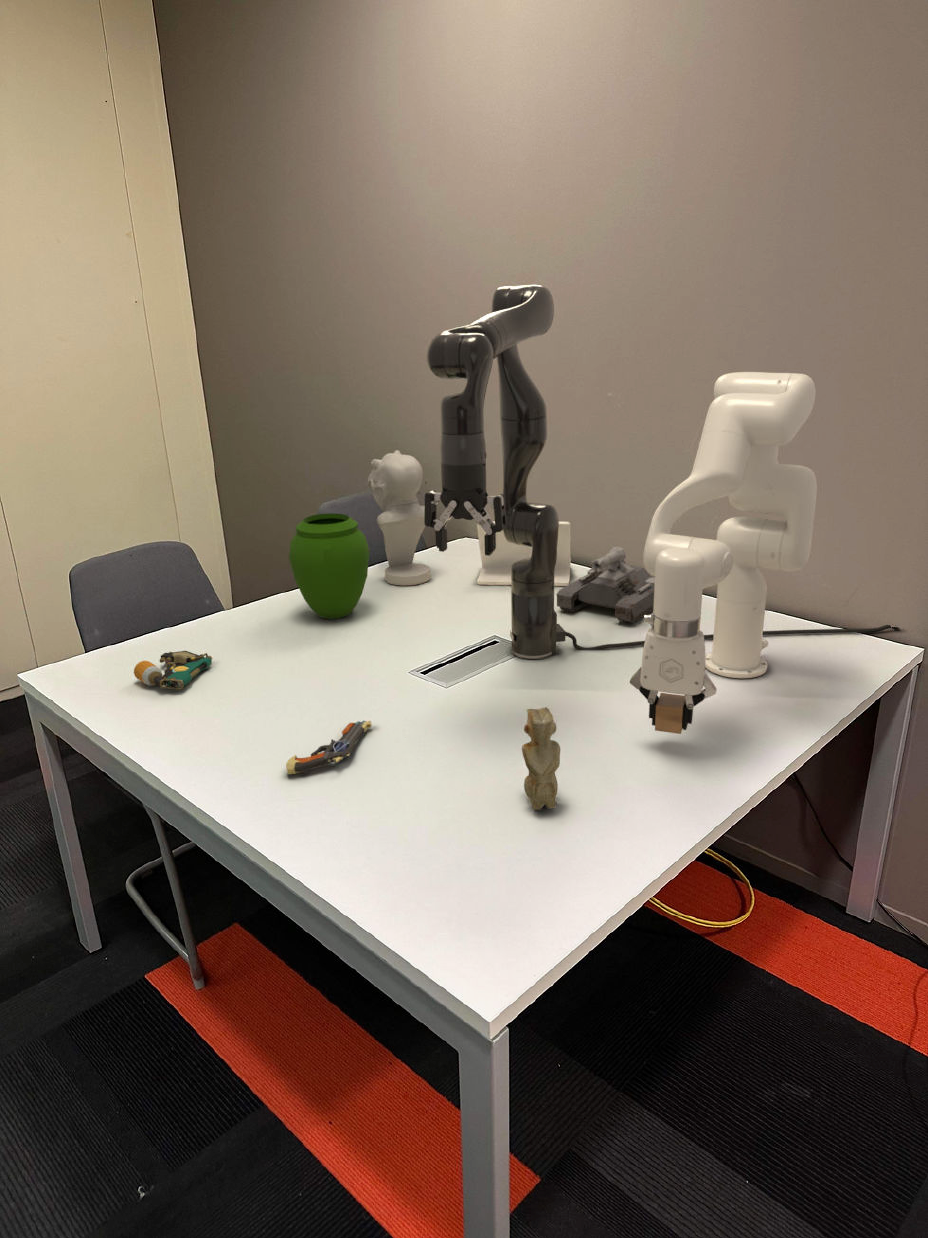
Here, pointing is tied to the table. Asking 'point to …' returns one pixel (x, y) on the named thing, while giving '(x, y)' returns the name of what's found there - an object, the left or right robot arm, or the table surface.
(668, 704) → the brown wooden block
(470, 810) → the table surface
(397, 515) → the bust sculpture
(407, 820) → the table surface
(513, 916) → the table surface
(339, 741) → the toy gun
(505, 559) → the tablet stand
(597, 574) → the toy
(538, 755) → the sculpture
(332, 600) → the vase
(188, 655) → the spray gun
